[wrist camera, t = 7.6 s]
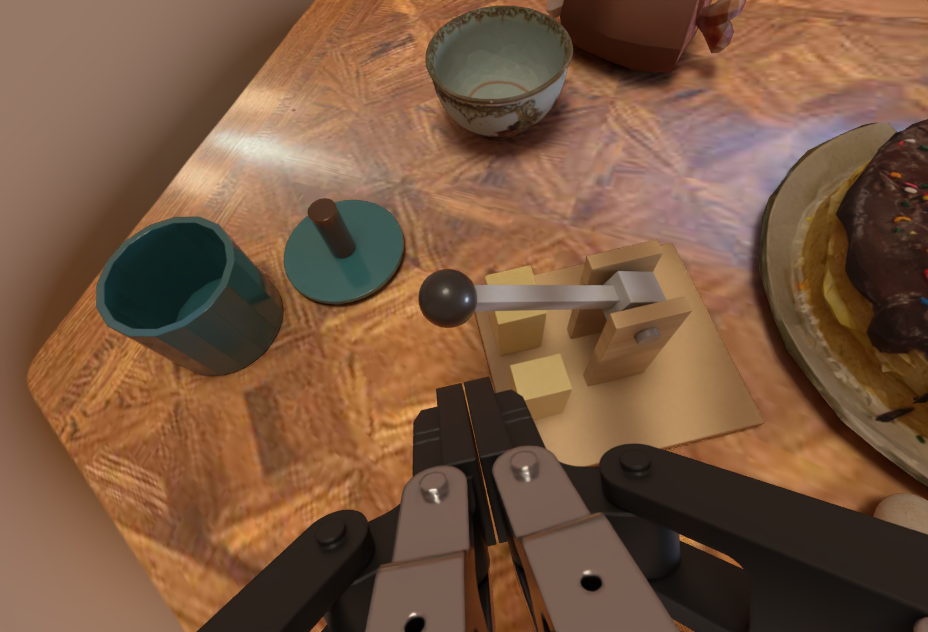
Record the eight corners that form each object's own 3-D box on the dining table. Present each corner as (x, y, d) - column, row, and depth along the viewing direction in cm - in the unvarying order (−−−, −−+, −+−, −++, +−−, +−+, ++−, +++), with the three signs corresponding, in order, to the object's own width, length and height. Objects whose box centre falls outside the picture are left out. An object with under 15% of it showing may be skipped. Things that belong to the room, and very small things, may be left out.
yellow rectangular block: (518, 423, 35) (519, 401, 29) (509, 391, 36) (509, 365, 30) (562, 413, 35) (572, 389, 29) (552, 381, 36) (560, 352, 30)
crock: (204, 400, 39) (130, 365, 31) (152, 321, 43) (75, 273, 35) (304, 322, 41) (259, 272, 34) (247, 254, 45) (194, 195, 38)
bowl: (537, 182, 46) (542, 115, 39) (415, 149, 49) (400, 82, 42) (580, 90, 51) (592, 16, 44) (467, 66, 54) (461, -7, 47)
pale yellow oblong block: (499, 356, 37) (498, 324, 32) (487, 312, 39) (484, 275, 33) (541, 346, 37) (546, 313, 32) (527, 303, 39) (530, 264, 34)
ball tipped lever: (417, 339, 24) (434, 309, 21) (407, 289, 25) (422, 256, 23) (641, 329, 30) (674, 305, 27) (624, 289, 31) (654, 263, 29)
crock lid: (332, 331, 41) (303, 295, 35) (266, 255, 45) (229, 211, 39) (429, 253, 43) (417, 207, 37) (358, 188, 48) (337, 138, 42)
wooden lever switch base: (518, 484, 34) (523, 457, 23) (470, 296, 41) (457, 210, 30) (757, 426, 34) (868, 374, 24) (668, 250, 41) (723, 149, 31)
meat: (523, 58, 54) (526, -41, 45) (567, 2, 58) (578, -99, 49) (695, 112, 48) (739, 11, 39) (732, 46, 52) (779, -61, 43)
